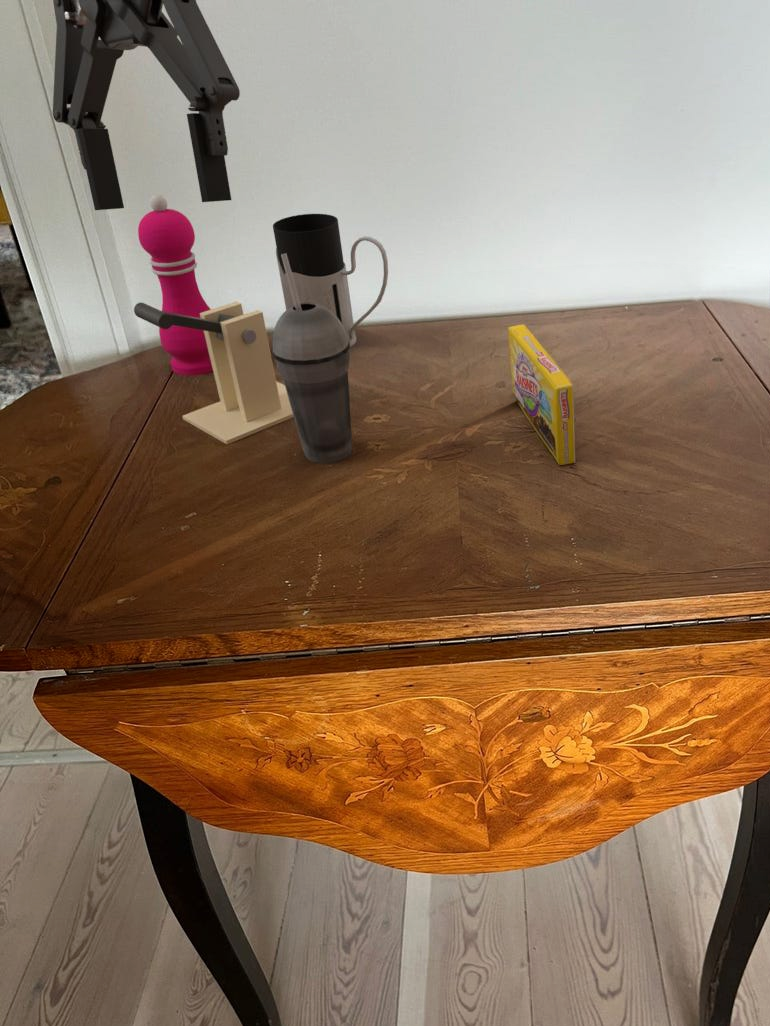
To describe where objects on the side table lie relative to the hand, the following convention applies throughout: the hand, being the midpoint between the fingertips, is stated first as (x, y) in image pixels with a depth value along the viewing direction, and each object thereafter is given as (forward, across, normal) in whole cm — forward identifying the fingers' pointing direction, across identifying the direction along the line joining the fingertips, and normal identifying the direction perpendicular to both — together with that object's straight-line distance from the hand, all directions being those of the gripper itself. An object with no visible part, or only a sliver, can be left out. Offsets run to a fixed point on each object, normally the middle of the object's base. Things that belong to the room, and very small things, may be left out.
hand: (161, 206), depth 84 cm
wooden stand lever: (+12, -4, +5) cm, 14 cm away
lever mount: (+22, -4, +11) cm, 25 cm away
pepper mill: (+18, -19, +19) cm, 33 cm away
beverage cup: (+24, +9, +8) cm, 27 cm away
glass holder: (+18, -7, +31) cm, 36 cm away
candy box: (+24, +25, +22) cm, 41 cm away
